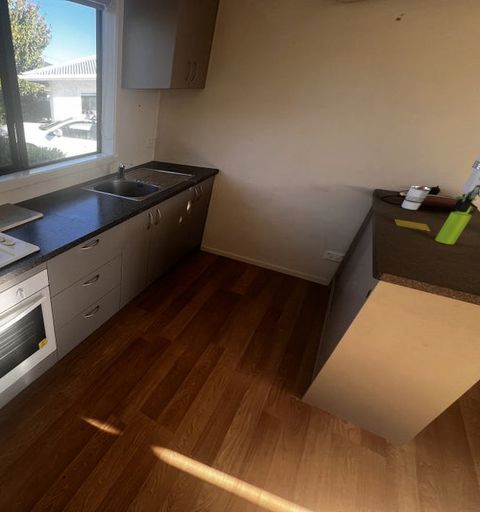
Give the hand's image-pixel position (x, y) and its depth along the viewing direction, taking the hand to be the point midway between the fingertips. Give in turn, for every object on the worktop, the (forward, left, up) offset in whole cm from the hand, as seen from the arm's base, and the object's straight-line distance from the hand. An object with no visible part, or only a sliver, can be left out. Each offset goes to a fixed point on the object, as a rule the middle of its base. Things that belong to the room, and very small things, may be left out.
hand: (459, 209), depth 124 cm
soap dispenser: (-1, +1, -15) cm, 15 cm away
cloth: (+9, -17, -15) cm, 24 cm away
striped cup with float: (+9, -52, -15) cm, 54 cm away
